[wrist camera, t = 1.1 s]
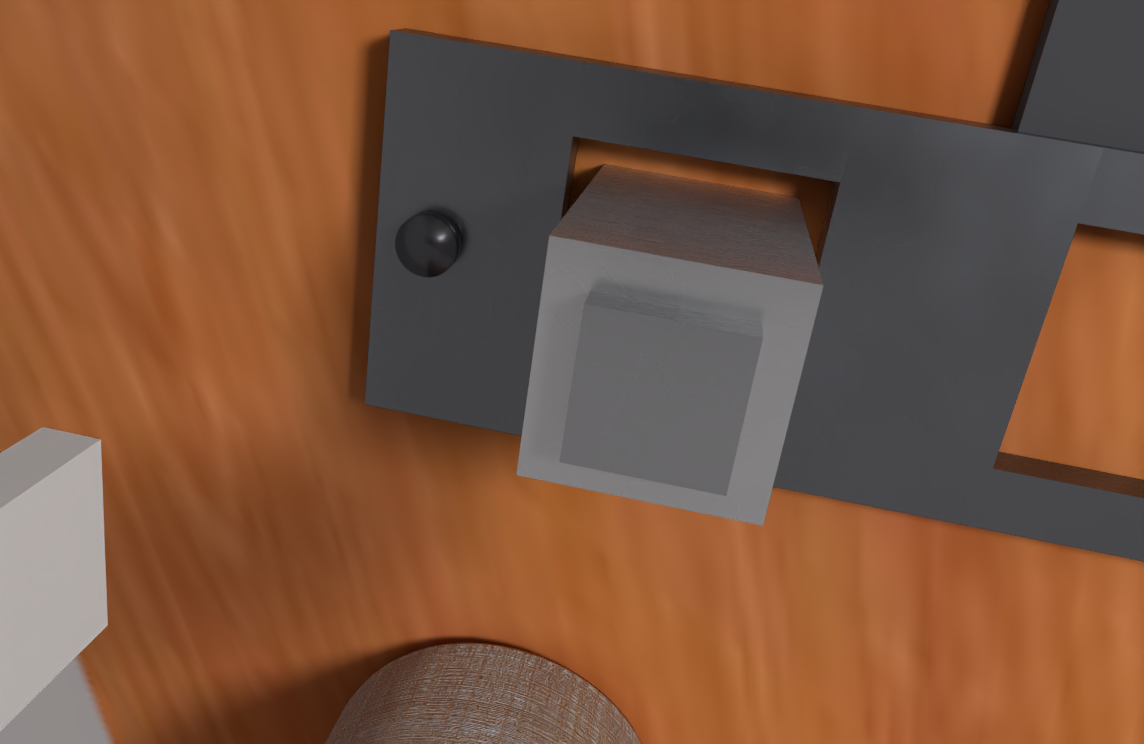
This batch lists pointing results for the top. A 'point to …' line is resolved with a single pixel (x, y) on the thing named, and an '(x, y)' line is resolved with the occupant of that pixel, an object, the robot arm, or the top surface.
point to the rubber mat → (1088, 75)
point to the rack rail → (844, 256)
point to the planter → (479, 701)
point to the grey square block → (670, 342)
